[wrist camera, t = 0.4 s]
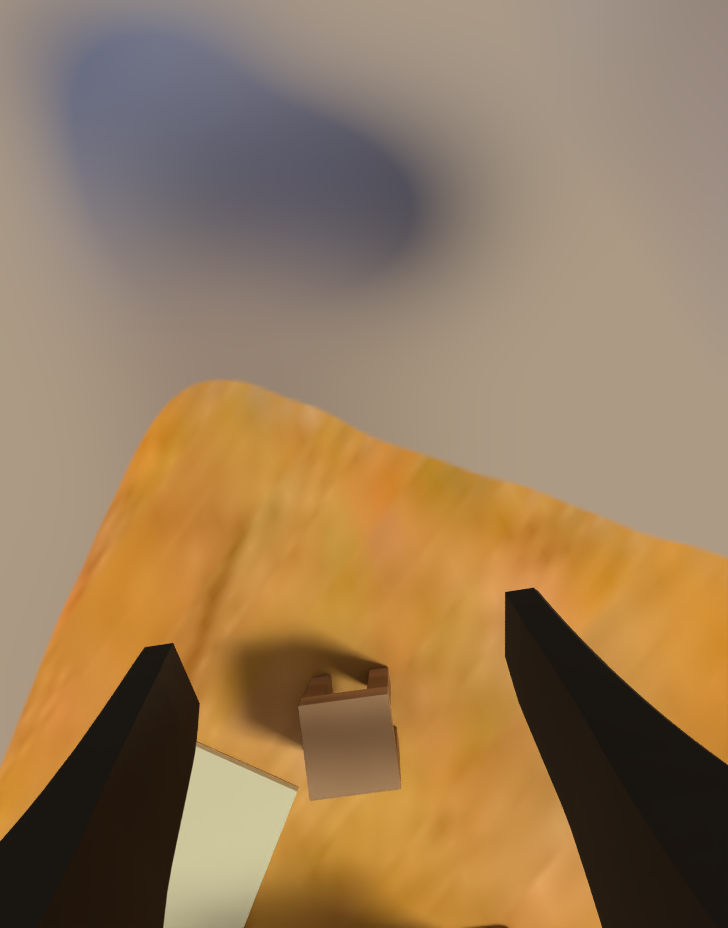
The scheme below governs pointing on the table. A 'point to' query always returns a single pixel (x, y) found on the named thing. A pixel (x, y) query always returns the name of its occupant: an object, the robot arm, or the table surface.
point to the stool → (349, 738)
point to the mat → (224, 841)
